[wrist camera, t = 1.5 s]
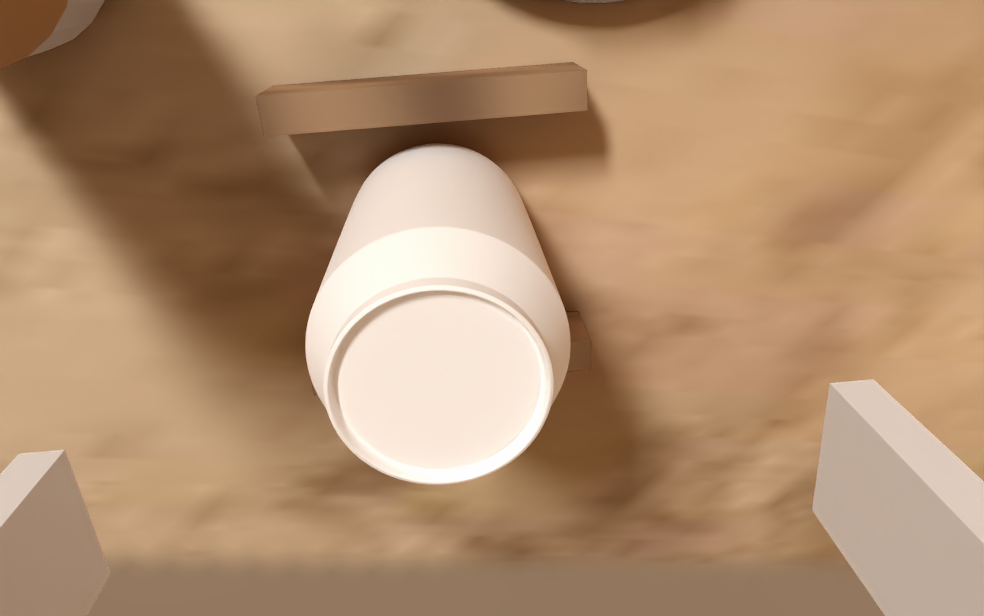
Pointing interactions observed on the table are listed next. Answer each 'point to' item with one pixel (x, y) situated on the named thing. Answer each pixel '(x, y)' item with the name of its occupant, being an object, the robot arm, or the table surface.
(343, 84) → the walnut cradle
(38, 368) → the table surface
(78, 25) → the coffee cup
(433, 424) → the beverage can
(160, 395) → the table surface
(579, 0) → the hub collar
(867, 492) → the robot arm
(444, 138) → the table surface
